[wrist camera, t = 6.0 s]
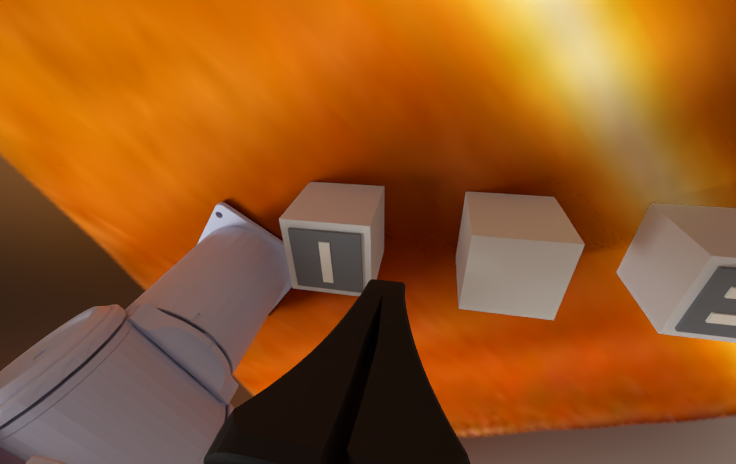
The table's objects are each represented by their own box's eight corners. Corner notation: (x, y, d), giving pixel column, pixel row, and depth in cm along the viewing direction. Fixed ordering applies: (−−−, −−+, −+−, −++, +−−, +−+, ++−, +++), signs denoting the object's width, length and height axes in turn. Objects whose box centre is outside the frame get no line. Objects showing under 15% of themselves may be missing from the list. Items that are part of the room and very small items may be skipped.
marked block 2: (615, 271, 21) (661, 338, 16) (650, 202, 18) (716, 260, 14) (706, 280, 20) (780, 352, 16) (756, 208, 17) (863, 272, 13)
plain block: (455, 256, 22) (458, 308, 18) (465, 190, 20) (471, 235, 16) (532, 263, 22) (553, 320, 18) (554, 196, 19) (585, 244, 15)
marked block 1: (318, 243, 24) (290, 291, 20) (310, 181, 22) (276, 221, 17) (384, 249, 23) (370, 301, 19) (384, 185, 21) (369, 229, 16)
